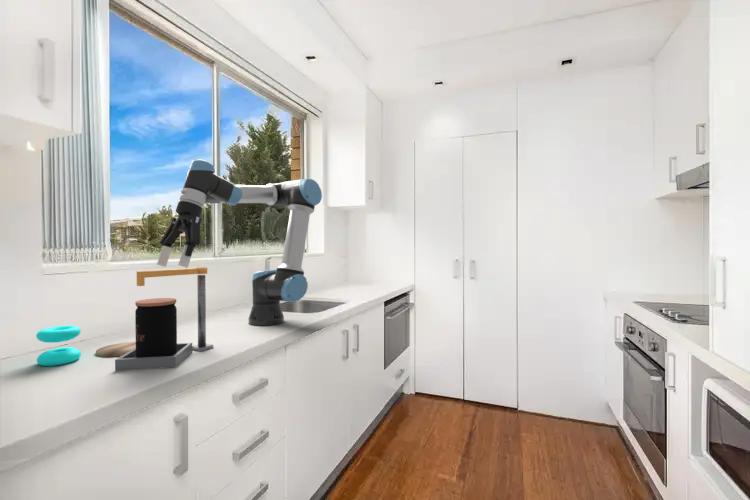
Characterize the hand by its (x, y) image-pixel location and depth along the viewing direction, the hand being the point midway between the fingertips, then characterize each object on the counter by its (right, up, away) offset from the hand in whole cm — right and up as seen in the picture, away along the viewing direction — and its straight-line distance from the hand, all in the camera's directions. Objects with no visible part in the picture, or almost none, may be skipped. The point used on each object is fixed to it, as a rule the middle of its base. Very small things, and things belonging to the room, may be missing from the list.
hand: (171, 266), depth 119 cm
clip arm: (+2, -5, -3) cm, 6 cm away
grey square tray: (0, -28, -8) cm, 29 cm away
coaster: (-18, -28, +4) cm, 33 cm away
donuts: (-29, -28, -8) cm, 41 cm away
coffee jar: (0, -28, -8) cm, 29 cm away
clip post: (+7, -28, +5) cm, 29 cm away
